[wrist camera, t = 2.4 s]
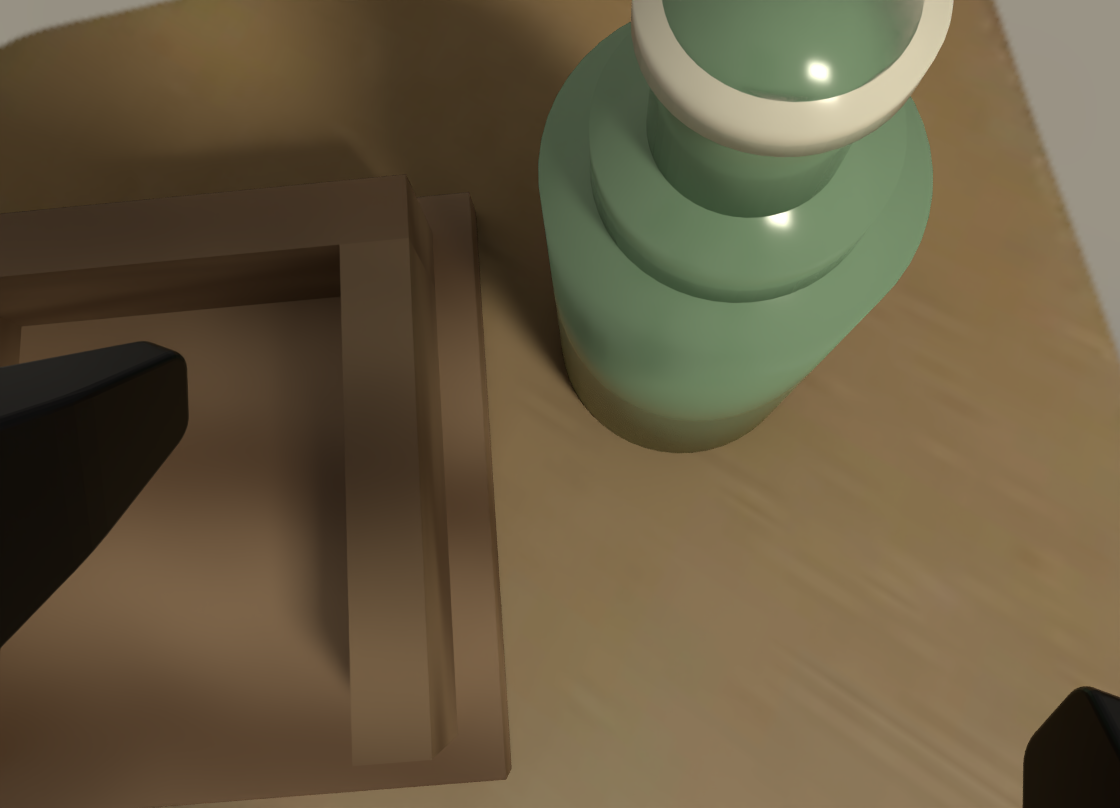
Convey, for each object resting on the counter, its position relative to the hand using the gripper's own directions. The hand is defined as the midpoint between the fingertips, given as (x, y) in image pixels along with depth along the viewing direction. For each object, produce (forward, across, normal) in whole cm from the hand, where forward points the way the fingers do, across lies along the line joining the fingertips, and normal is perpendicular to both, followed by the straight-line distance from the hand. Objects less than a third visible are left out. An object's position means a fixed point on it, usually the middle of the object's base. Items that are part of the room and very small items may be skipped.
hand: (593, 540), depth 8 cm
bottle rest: (+8, +10, +10) cm, 16 cm away
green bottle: (+13, 0, +4) cm, 14 cm away
